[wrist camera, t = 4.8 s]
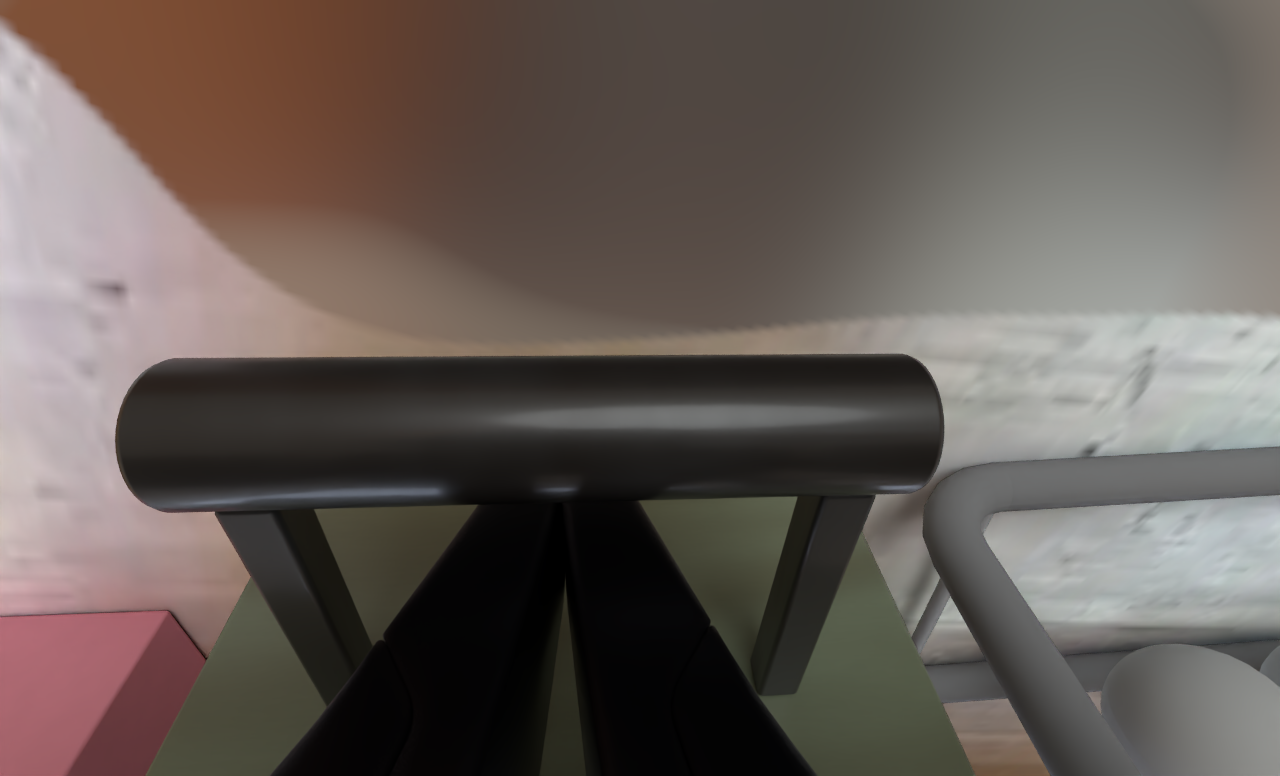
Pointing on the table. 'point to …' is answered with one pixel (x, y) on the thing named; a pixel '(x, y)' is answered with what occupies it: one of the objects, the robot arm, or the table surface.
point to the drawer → (548, 473)
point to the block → (91, 691)
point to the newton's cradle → (1129, 680)
